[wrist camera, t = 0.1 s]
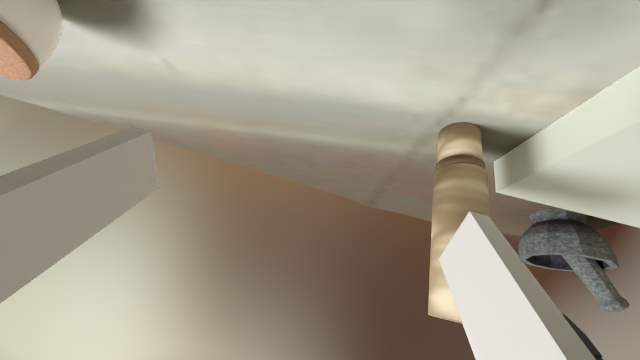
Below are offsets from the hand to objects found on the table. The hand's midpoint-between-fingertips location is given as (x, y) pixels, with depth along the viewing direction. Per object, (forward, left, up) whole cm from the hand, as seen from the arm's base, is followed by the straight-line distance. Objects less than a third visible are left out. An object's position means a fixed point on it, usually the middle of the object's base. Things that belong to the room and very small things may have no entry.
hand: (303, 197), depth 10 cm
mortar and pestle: (+23, +37, -16) cm, 46 cm away
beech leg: (+11, +14, -15) cm, 23 cm away
